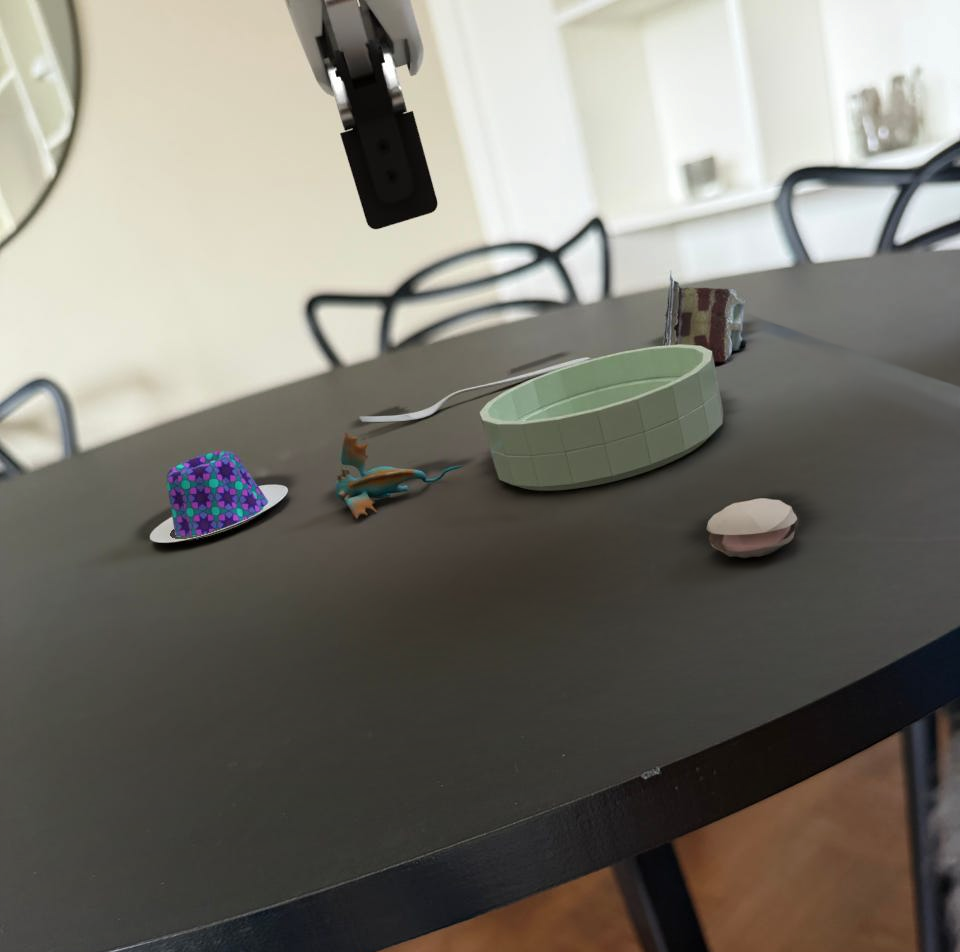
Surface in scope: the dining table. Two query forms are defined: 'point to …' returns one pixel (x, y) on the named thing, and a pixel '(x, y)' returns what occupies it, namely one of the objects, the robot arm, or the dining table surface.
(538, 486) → the bowl
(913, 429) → the dining table surface
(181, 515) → the purple patterned hat
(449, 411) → the dining table surface
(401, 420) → the fork
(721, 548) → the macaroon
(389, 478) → the dragon figurine
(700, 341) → the chocolate cake
